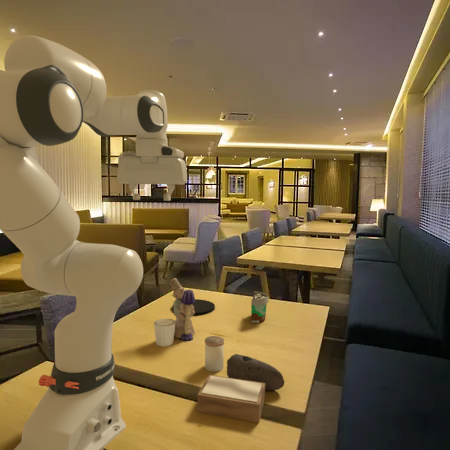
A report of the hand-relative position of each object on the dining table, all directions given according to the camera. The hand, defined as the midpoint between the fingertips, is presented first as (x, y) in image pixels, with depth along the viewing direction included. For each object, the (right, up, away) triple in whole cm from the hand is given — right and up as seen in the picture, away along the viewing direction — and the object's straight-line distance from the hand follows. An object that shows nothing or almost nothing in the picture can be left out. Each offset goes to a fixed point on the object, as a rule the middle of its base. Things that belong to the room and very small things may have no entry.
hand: (151, 200), depth 100 cm
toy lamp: (+8, -46, +17) cm, 50 cm away
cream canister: (+18, -47, -1) cm, 51 cm away
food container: (+35, -45, +36) cm, 67 cm away
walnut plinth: (+23, -49, -19) cm, 57 cm away
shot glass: (+1, -46, +14) cm, 48 cm away
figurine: (+6, -45, +21) cm, 50 cm away
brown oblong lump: (+29, -49, -11) cm, 57 cm away
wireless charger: (+8, -43, +48) cm, 65 cm away
